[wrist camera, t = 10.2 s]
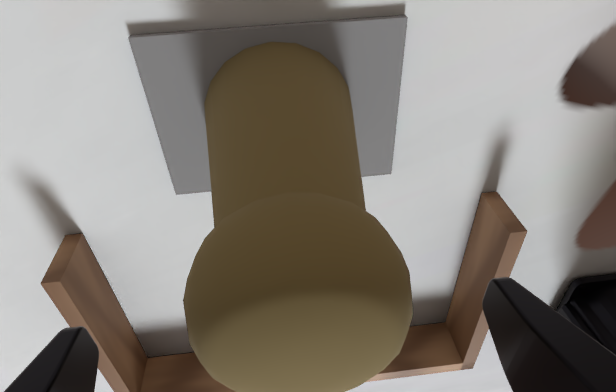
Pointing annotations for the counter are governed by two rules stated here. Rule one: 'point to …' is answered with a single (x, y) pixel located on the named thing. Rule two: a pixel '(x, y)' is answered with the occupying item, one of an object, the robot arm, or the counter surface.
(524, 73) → the counter surface
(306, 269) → the cork
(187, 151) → the grey mat
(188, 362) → the wooden u-shaped frame
